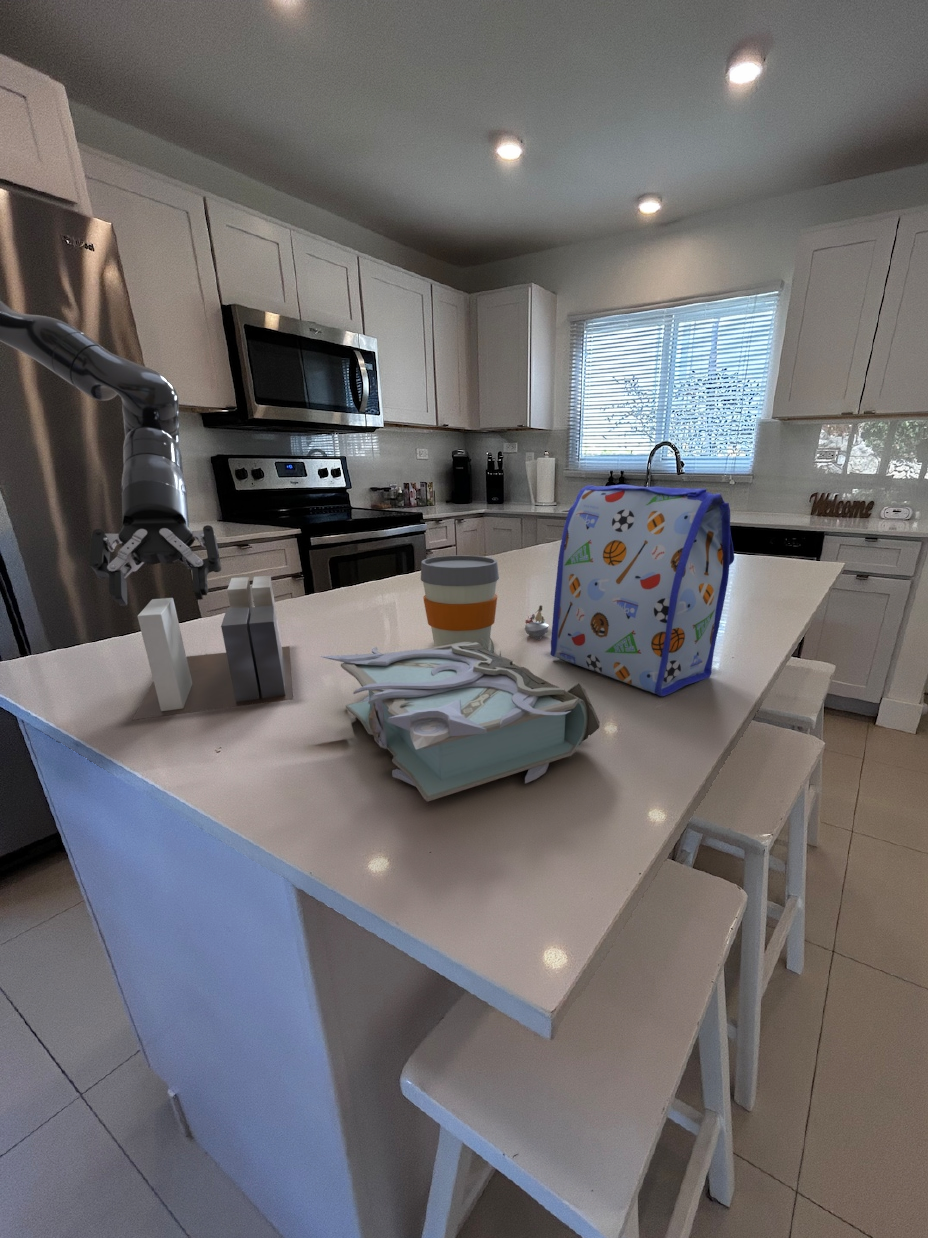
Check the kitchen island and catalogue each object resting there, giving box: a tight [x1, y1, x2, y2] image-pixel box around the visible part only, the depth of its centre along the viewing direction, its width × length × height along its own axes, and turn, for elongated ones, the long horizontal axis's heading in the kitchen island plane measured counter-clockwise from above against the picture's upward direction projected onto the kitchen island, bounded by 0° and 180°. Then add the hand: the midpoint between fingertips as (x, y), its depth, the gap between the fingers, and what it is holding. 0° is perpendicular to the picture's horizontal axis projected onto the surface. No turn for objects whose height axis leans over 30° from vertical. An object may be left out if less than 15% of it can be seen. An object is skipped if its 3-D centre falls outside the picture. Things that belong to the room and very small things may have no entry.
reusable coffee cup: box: [420, 554, 500, 651], centre depth 93 cm, size 13×13×15 cm
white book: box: [137, 597, 192, 711], centre depth 71 cm, size 2×9×12 cm, turn 22°
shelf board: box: [132, 575, 295, 721], centre depth 78 cm, size 18×24×13 cm
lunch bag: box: [550, 484, 735, 697], centre depth 83 cm, size 23×17×27 cm
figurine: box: [524, 604, 550, 641], centre depth 102 cm, size 5×4×6 cm
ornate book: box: [319, 635, 601, 803], centre depth 65 cm, size 23×10×30 cm
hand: (160, 599), depth 71 cm, fingers open, 8 cm apart
